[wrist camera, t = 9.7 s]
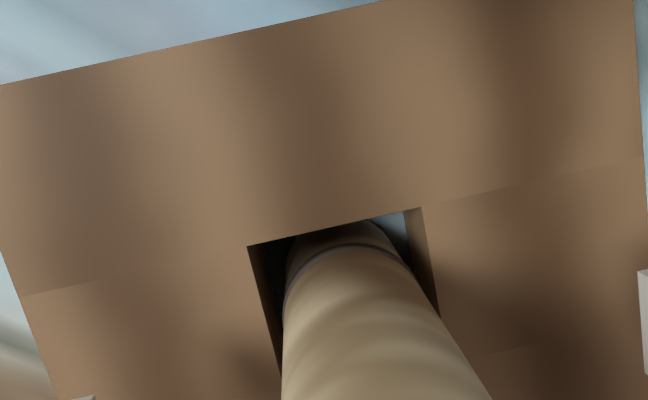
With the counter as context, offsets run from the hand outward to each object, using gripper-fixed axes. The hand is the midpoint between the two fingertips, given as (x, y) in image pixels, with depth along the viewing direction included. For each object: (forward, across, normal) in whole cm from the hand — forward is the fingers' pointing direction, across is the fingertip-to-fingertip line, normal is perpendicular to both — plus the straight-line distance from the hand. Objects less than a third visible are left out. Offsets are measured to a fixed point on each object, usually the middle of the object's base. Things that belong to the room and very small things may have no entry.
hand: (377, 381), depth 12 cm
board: (+8, 0, 0) cm, 8 cm away
